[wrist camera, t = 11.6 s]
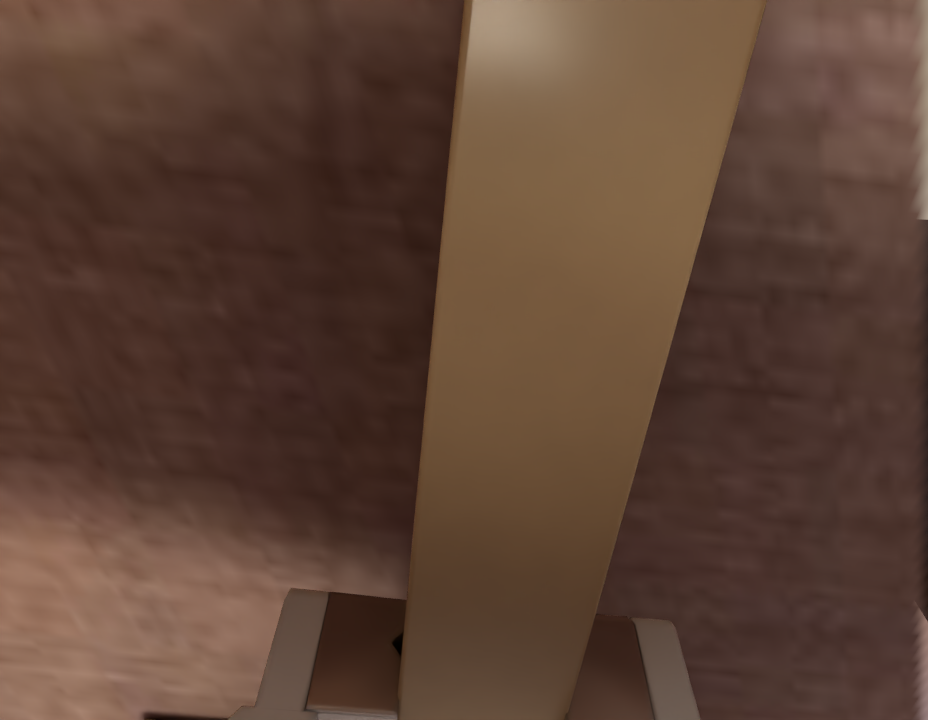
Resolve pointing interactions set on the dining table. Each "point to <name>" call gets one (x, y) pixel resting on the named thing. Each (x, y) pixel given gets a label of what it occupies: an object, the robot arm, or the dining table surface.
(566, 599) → the tan wooden bar
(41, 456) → the dining table surface
